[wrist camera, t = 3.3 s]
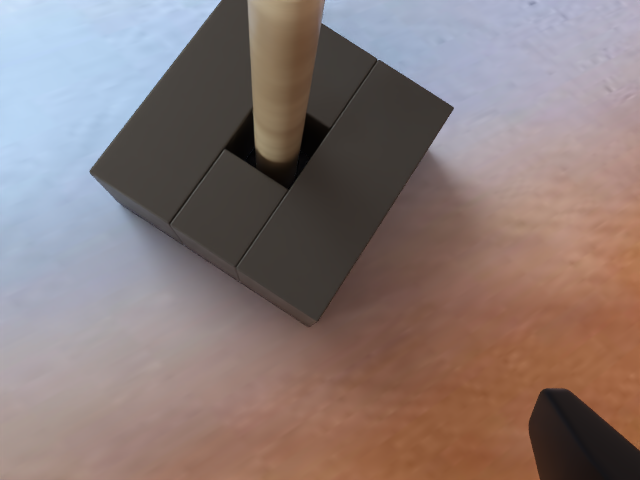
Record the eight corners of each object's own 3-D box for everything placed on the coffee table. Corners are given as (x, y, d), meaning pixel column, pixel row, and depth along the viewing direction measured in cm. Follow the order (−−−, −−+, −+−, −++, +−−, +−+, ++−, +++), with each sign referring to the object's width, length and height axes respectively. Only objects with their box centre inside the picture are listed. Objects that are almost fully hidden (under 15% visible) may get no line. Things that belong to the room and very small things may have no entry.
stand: (425, 145, 25) (454, 107, 22) (308, 327, 24) (317, 322, 20) (246, 30, 26) (242, -29, 22) (116, 201, 24) (87, 171, 20)
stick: (303, 167, 25) (346, -46, 12) (281, 199, 25) (301, 16, 11) (270, 146, 25) (276, -91, 12) (248, 177, 25) (228, -29, 11)
